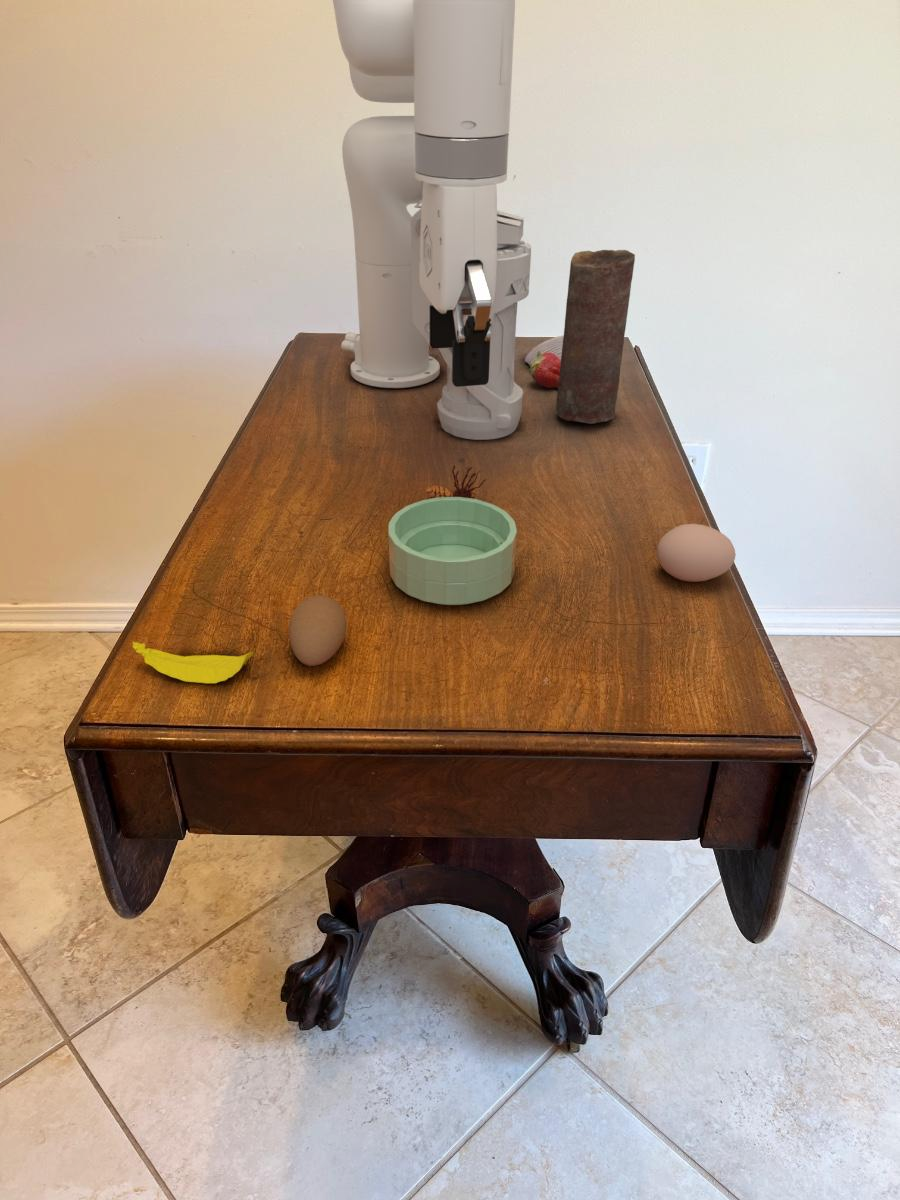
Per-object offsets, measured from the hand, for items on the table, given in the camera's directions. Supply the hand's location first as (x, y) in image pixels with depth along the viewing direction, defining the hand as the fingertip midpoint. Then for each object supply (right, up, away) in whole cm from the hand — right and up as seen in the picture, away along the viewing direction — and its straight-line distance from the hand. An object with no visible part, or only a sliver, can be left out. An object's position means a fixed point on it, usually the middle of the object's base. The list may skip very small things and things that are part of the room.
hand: (457, 364), depth 77 cm
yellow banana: (-21, -24, -12) cm, 34 cm away
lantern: (+2, 0, +27) cm, 27 cm away
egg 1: (-11, -22, -10) cm, 26 cm away
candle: (+16, +1, +28) cm, 32 cm away
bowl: (-1, -20, -1) cm, 20 cm away
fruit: (+13, +7, +37) cm, 40 cm away
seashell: (+15, +13, +45) cm, 49 cm away
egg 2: (+18, -17, -3) cm, 25 cm away
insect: (0, -9, +5) cm, 10 cm away
